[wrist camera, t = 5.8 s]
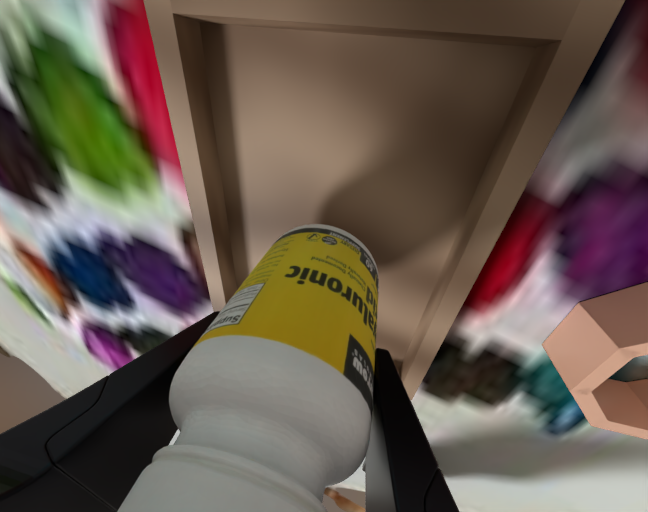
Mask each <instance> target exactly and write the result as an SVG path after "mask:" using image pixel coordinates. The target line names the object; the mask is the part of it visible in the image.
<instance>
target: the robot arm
mask: <svg viewBox="0 0 648 512" xmlns="http://www.w3.org/2000/svg"><path fill="white" fill-rule="evenodd" d="M219 313H220V311H215V312H213V313H212V314H210V315H208V316H207V317H205V318H203V319H202V320H200V321H198V322H197V323H195V324H193V325H191V326H190V327H188V328H186V329H185V330H183V331H181V332H180V333H178V334H176V335H175V336H173V337H171V338H170V339H168V340H166V341H165V342H163V343H161V344H160V345H158V346H156V347H155V348H153V349H151V350H150V351H148V352H146V353H145V354H143V355H141V356H140V357H138V358H136V359H134V360H133V361H131V362H129V363H128V364H126V365H124V366H123V367H121V368H119V369H118V370H116V371H114V372H113V373H111V374H110V375H109V376H106V377H104V378H102V379H101V380H99V381H97V382H96V383H94V384H92V385H91V386H89V387H87V388H85V389H84V390H82V391H80V392H78V393H77V394H75V395H73V396H72V397H70V398H68V399H66V400H64V401H62V402H60V403H59V404H57V405H55V406H53V407H51V408H49V409H48V410H45V411H44V412H42V413H40V414H38V415H36V416H34V417H32V418H30V419H28V420H26V421H24V422H23V423H21V424H19V425H17V426H15V427H13V428H11V429H9V430H7V431H5V432H3V433H1V434H0V512H117V511H118V509H119V508H120V506H121V505H122V503H123V502H124V500H125V498H126V497H127V495H128V494H129V492H130V490H131V489H132V487H133V486H134V484H135V482H136V481H137V479H138V478H139V476H140V474H141V473H142V471H143V470H144V469H145V468H146V467H147V466H148V465H150V464H151V463H152V459H153V456H154V454H155V453H156V452H157V451H158V450H160V449H161V448H163V447H166V446H168V445H169V443H170V441H171V440H172V438H173V436H174V435H175V433H176V431H177V430H178V427H177V425H176V424H175V422H174V420H173V417H172V414H171V410H170V405H169V392H170V386H171V383H172V380H173V377H174V375H175V373H176V371H177V370H178V368H179V366H180V365H181V363H182V362H183V360H184V359H185V357H186V356H187V354H188V353H189V352H190V350H191V349H192V348H193V346H194V345H195V344H196V343H197V341H198V340H199V339H200V337H201V336H202V335H203V334H204V332H205V331H206V330H207V329H208V327H209V326H210V325H211V323H212V322H213V321H214V320H215V318H216V317H217V316H218V314H219ZM438 467H439V466H438V463H437V461H436V458H435V456H434V454H433V451H432V449H431V447H430V445H429V442H428V440H427V438H426V435H425V433H424V431H423V428H422V426H421V424H420V421H419V419H418V417H417V415H416V412H415V410H414V408H413V405H412V403H411V401H410V398H409V396H408V394H407V392H406V389H405V387H404V385H403V382H402V380H401V378H400V375H399V373H398V371H397V368H396V366H395V364H394V362H393V359H392V357H391V355H390V352H389V351H388V350H386V349H382V348H376V350H375V371H374V388H373V412H372V421H371V432H370V441H369V446H368V450H367V453H366V459H365V461H364V464H363V471H365V472H366V512H459V510H458V508H457V505H456V503H455V501H454V499H453V497H452V495H451V492H450V490H449V488H448V486H447V484H446V481H445V479H444V477H443V474H442V472H441V470H440V469H439V468H438Z"/></svg>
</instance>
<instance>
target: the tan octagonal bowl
mask: <svg viewBox="0 0 648 512" xmlns="http://www.w3.org/2000/svg"><path fill="white" fill-rule="evenodd" d="M542 346H543V348H544V349H545V351H546V353H547V354H548V356H549V358H550V359H551V361H552V363H553V364H554V366H555V368H556V369H557V371H558V373H559V374H560V376H561V378H562V379H563V381H564V383H565V384H566V386H567V388H568V389H569V391H570V392H571V394H572V395H573V397H574V399H575V400H576V402H577V404H578V405H579V407H580V408H581V410H582V412H583V413H584V415H585V417H586V418H587V420H588V422H589V423H590V425H591V426H594V427H598V428H602V429H606V430H610V431H614V432H619V433H623V434H627V435H631V436H635V437H639V438H643V439H648V379H643V380H637V381H631V382H622V381H617V380H612V379H608V378H609V377H610V376H611V375H613V374H614V373H615V372H616V371H618V370H619V369H620V368H621V367H623V366H624V365H625V364H626V363H628V362H629V361H630V360H631V359H633V358H634V357H639V356H644V355H648V282H646V283H643V284H639V285H636V286H633V287H629V288H626V289H623V290H619V291H616V292H613V293H609V294H606V295H603V296H599V297H596V298H593V299H589V300H586V301H582V302H579V303H578V304H577V305H576V306H575V307H574V308H573V309H572V311H571V312H570V313H569V314H568V315H567V316H566V317H565V319H564V320H563V321H562V322H561V323H560V324H559V325H558V327H557V328H556V329H555V330H554V331H553V332H552V333H551V334H550V336H549V337H548V338H547V339H546V340H545V341H544V342H543V344H542Z"/></svg>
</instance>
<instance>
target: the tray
mask: <svg viewBox="0 0 648 512" xmlns="http://www.w3.org/2000/svg"><path fill="white" fill-rule="evenodd" d="M624 2H625V0H144V4H145V9H146V13H147V17H148V22H149V26H150V31H151V35H152V40H153V44H154V49H155V53H156V58H157V62H158V66H159V71H160V75H161V80H162V84H163V89H164V93H165V98H166V102H167V106H168V111H169V115H170V120H171V124H172V129H173V133H174V138H175V142H176V146H177V151H178V155H179V160H180V164H181V169H182V173H183V178H184V182H185V187H186V191H187V195H188V200H189V204H190V209H191V213H192V218H193V222H194V227H195V231H196V235H197V240H198V244H199V249H200V253H201V258H202V262H203V267H204V271H205V275H206V280H207V284H208V289H209V293H210V298H211V302H212V307H213V311H214V312H215V311H220V312H221V310H222V309H223V308H224V307H225V305H226V304H227V303H228V301H229V300H230V299H231V298H232V296H233V295H234V294H235V292H236V291H237V290H238V288H239V287H240V286H241V285H242V283H243V282H244V281H245V279H246V278H247V277H248V276H249V274H250V273H251V272H252V270H253V269H254V268H255V267H256V265H257V264H258V263H259V261H260V260H261V259H262V258H263V256H264V255H265V254H266V252H267V251H268V250H269V249H270V248H271V246H272V245H273V244H274V243H275V242H276V241H277V240H278V239H279V238H280V237H281V236H282V235H283V234H285V233H286V232H288V231H290V230H292V229H294V228H296V227H299V226H303V225H309V224H323V225H329V226H333V227H336V228H339V229H342V230H344V231H346V232H348V233H350V234H351V235H353V236H354V237H356V238H357V239H358V240H359V241H361V242H362V243H363V244H364V245H365V247H366V248H367V249H368V250H369V252H370V253H371V255H372V257H373V259H374V261H375V263H376V266H377V270H378V277H379V293H378V312H377V330H376V348H382V349H386V350H388V351H389V352H390V355H391V357H392V359H393V362H394V364H395V366H396V368H397V371H398V373H399V375H400V378H401V380H402V382H403V385H404V387H405V389H406V392H407V394H408V396H409V398H410V400H412V399H413V397H414V395H415V393H416V391H417V389H418V387H419V386H420V384H421V382H422V380H423V378H424V376H425V374H426V372H427V371H428V369H429V367H430V365H431V363H432V361H433V359H434V357H435V356H436V354H437V352H438V350H439V348H440V346H441V344H442V342H443V341H444V339H445V337H446V335H447V333H448V331H449V329H450V327H451V326H452V324H453V322H454V320H455V318H456V316H457V314H458V312H459V311H460V309H461V307H462V305H463V303H464V301H465V299H466V297H467V296H468V294H469V292H470V290H471V288H472V286H473V284H474V283H475V281H476V279H477V277H478V275H479V273H480V271H481V269H482V268H483V266H484V264H485V262H486V260H487V258H488V256H489V254H490V253H491V251H492V249H493V247H494V245H495V243H496V241H497V239H498V238H499V236H500V234H501V232H502V230H503V228H504V226H505V224H506V223H507V221H508V219H509V217H510V215H511V213H512V211H513V209H514V208H515V206H516V204H517V202H518V200H519V198H520V196H521V194H522V193H523V191H524V189H525V187H526V185H527V183H528V181H529V180H530V178H531V176H532V174H533V172H534V170H535V168H536V166H537V165H538V163H539V161H540V159H541V157H542V155H543V153H544V151H545V150H546V148H547V146H548V144H549V142H550V140H551V138H552V136H553V135H554V133H555V131H556V129H557V127H558V125H559V123H560V121H561V120H562V118H563V116H564V114H565V112H566V110H567V108H568V106H569V105H570V103H571V101H572V99H573V97H574V95H575V93H576V91H577V90H578V88H579V86H580V84H581V82H582V80H583V78H584V77H585V75H586V73H587V71H588V69H589V67H590V65H591V63H592V62H593V60H594V58H595V56H596V54H597V52H598V50H599V48H600V47H601V45H602V43H603V41H604V39H605V37H606V35H607V33H608V32H609V30H610V28H611V26H612V24H613V22H614V20H615V18H616V17H617V15H618V13H619V11H620V9H621V7H622V5H623V3H624ZM376 348H375V350H376Z"/></svg>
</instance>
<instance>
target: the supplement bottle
mask: <svg viewBox="0 0 648 512" xmlns="http://www.w3.org/2000/svg"><path fill="white" fill-rule="evenodd" d="M378 293H379V277H378V270H377V266H376V263H375V261H374V259H373V257H372V255H371V253H370V252H369V250H368V249H367V248H366V247H365V245H364V244H363V243H362V242H361V241H359V240H358V239H357V238H356V237H354V236H353V235H351V234H350V233H348V232H346V231H344V230H342V229H339V228H336V227H333V226H329V225H323V224H309V225H303V226H299V227H296V228H294V229H292V230H290V231H288V232H286V233H285V234H283V235H282V236H281V237H280V238H279V239H278V240H277V241H276V242H275V243H274V244H273V245H272V246H271V248H270V249H269V250H268V251H267V252H266V254H265V255H264V256H263V258H262V259H261V260H260V261H259V263H258V264H257V265H256V267H255V268H254V269H253V270H252V272H251V273H250V274H249V276H248V277H247V278H246V279H245V281H244V282H243V283H242V285H241V286H240V287H239V288H238V290H237V291H236V292H235V294H234V295H233V296H232V298H231V299H230V300H229V301H228V303H227V304H226V305H225V307H224V308H223V309H222V310H221V312H220V313H219V314H218V316H217V317H216V318H215V320H214V321H213V322H212V323H211V325H210V326H209V327H208V329H207V330H206V331H205V332H204V334H203V335H202V336H201V337H200V339H199V340H198V341H197V343H196V344H195V345H194V346H193V348H192V349H191V350H190V352H189V353H188V354H187V356H186V357H185V359H184V360H183V362H182V363H181V365H180V366H179V368H178V370H177V371H176V373H175V375H174V377H173V380H172V383H171V386H170V392H169V405H170V410H171V414H172V417H173V420H174V422H175V424H176V425H177V427H178V429H179V430H180V434H179V436H178V438H177V440H176V441H175V443H174V445H169V446H166V447H163V448H161V449H160V450H158V451H157V452H156V453H155V454H154V456H153V459H152V463H151V464H150V465H148V466H147V467H146V468H145V469H144V470H143V471H142V473H141V474H140V476H139V478H138V479H137V481H136V482H135V484H134V486H133V487H132V489H131V490H130V492H129V494H128V495H127V497H126V498H125V500H124V502H123V503H122V505H121V506H120V508H119V509H118V511H117V512H327V510H326V508H325V507H324V506H323V504H322V500H323V493H324V490H325V487H328V486H332V485H335V484H337V483H340V482H342V481H344V480H345V479H347V478H348V477H350V476H351V475H352V474H353V473H354V472H355V471H356V470H357V469H358V467H359V466H360V465H361V463H362V462H363V460H364V458H365V456H366V453H367V450H368V446H369V441H370V432H371V421H372V412H373V388H374V371H375V348H376V330H377V312H378Z"/></svg>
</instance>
